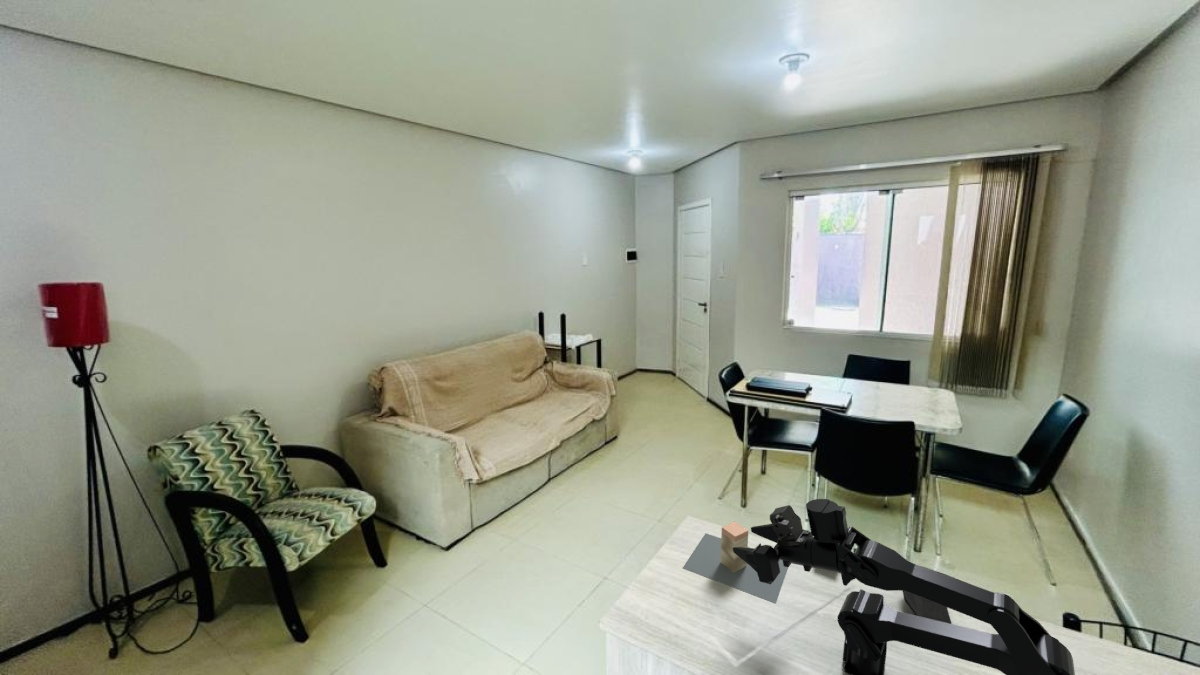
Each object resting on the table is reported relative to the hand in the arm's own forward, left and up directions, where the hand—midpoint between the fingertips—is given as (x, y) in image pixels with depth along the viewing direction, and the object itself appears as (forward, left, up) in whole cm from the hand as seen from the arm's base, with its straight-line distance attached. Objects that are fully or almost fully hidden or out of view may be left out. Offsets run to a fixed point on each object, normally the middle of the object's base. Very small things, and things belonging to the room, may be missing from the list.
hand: (742, 539), depth 103 cm
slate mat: (+4, -12, -17) cm, 21 cm away
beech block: (+5, -11, -16) cm, 20 cm away
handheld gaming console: (-35, -19, -17) cm, 43 cm away
